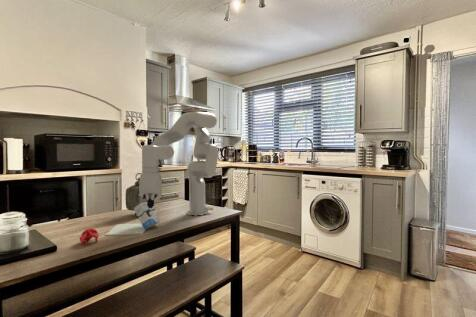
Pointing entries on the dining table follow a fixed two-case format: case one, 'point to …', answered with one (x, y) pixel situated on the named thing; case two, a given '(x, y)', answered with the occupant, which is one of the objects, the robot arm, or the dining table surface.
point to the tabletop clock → (134, 196)
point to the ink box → (147, 215)
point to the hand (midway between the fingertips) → (150, 207)
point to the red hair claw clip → (88, 235)
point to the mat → (126, 229)
